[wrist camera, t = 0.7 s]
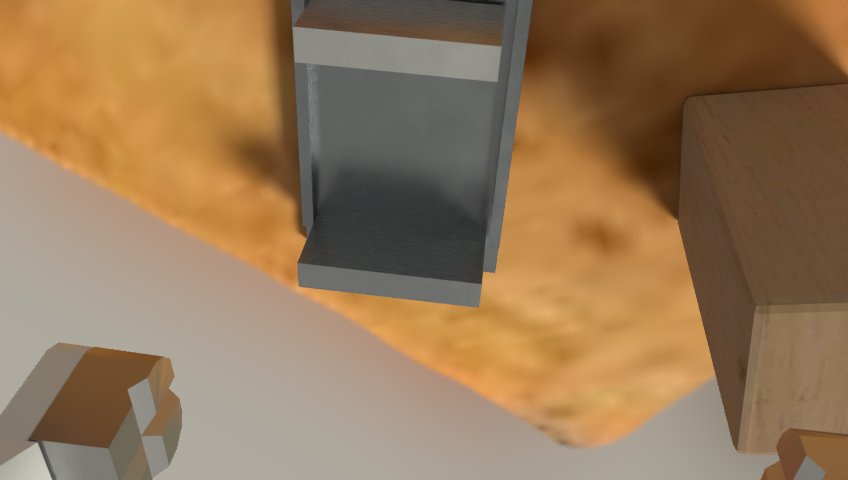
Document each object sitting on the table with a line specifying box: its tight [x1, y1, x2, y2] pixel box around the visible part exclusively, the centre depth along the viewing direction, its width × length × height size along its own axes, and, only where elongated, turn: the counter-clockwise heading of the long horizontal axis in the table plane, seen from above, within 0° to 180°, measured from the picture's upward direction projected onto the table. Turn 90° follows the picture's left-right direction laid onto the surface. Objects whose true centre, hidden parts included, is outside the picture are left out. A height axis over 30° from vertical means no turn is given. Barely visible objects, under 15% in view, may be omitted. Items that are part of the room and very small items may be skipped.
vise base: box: [291, 0, 533, 308], centre depth 49 cm, size 22×14×8 cm, turn 177°
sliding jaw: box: [293, 0, 505, 82], centre depth 44 cm, size 2×11×6 cm, turn 87°
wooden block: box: [678, 84, 848, 454], centre depth 43 cm, size 10×10×20 cm
